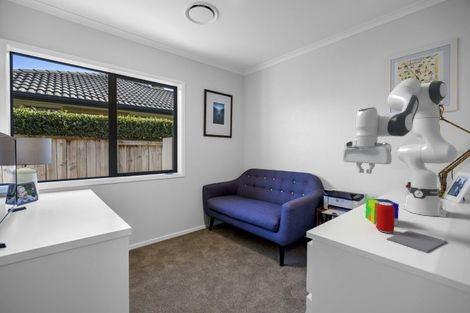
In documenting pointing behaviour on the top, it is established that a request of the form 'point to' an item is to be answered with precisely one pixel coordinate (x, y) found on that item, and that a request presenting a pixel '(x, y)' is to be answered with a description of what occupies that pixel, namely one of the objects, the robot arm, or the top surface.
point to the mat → (417, 241)
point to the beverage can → (385, 217)
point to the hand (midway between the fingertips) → (365, 173)
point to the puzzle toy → (372, 209)
